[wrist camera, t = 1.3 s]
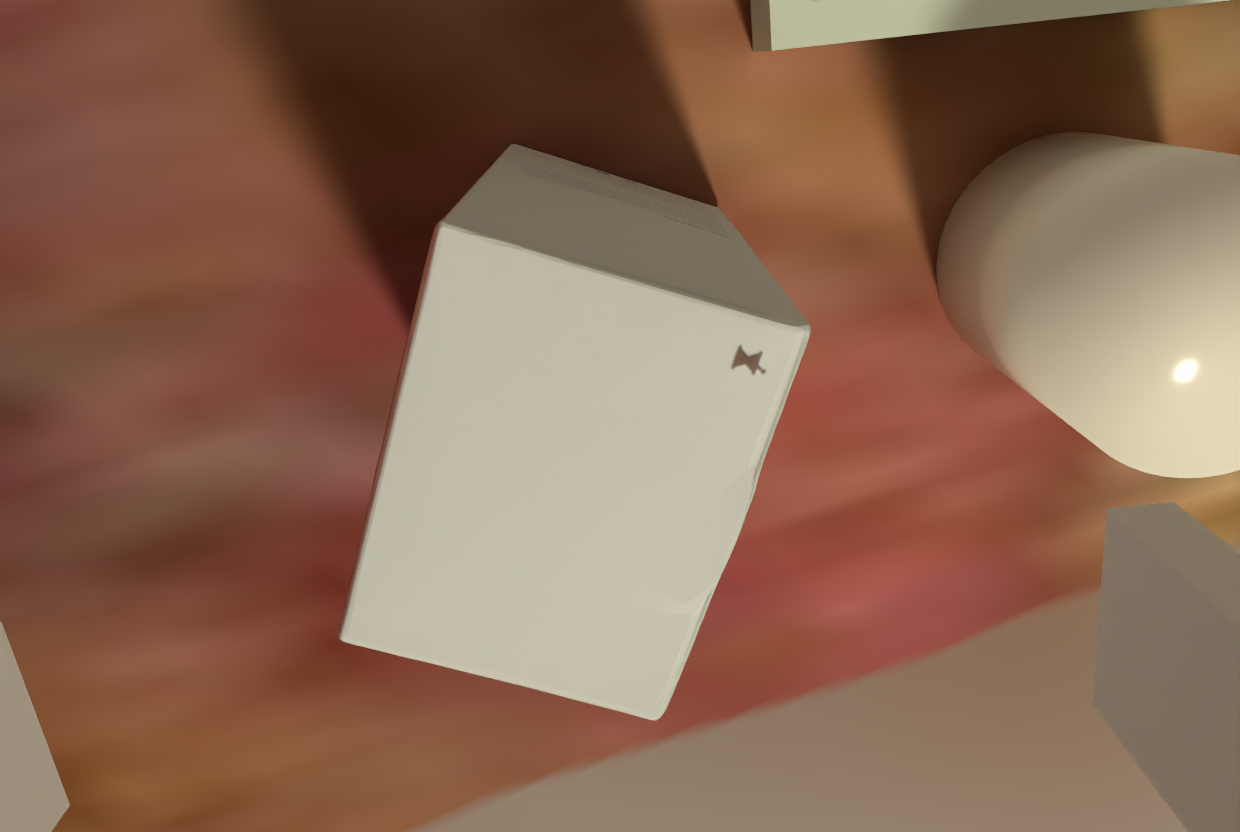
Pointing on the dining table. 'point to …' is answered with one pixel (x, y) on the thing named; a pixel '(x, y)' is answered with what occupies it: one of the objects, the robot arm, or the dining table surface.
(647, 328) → the small box
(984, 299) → the cream capsule cylinder
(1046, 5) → the tray
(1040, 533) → the dining table surface
